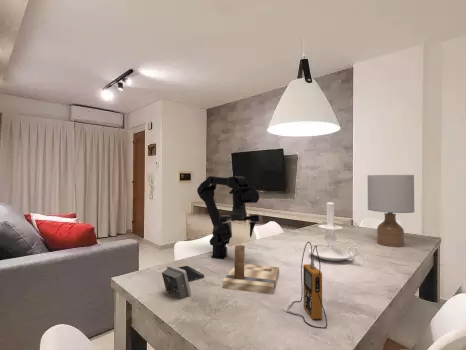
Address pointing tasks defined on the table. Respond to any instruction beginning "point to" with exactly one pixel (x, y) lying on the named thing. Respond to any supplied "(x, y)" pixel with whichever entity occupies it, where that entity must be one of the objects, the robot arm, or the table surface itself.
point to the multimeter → (311, 290)
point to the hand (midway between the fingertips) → (240, 237)
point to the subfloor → (253, 279)
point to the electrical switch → (176, 282)
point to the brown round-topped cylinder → (239, 261)
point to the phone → (192, 273)
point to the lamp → (391, 204)
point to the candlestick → (332, 240)
